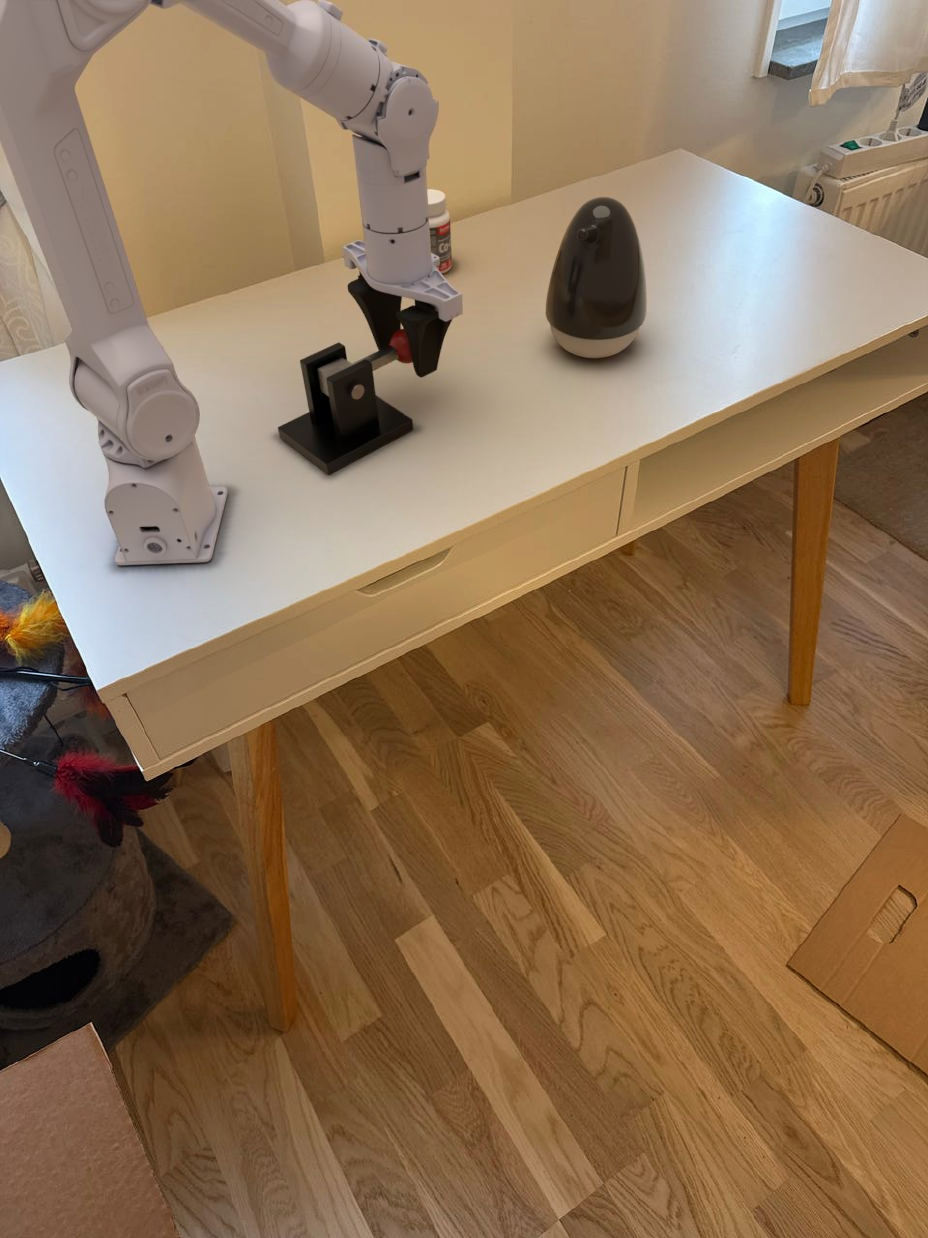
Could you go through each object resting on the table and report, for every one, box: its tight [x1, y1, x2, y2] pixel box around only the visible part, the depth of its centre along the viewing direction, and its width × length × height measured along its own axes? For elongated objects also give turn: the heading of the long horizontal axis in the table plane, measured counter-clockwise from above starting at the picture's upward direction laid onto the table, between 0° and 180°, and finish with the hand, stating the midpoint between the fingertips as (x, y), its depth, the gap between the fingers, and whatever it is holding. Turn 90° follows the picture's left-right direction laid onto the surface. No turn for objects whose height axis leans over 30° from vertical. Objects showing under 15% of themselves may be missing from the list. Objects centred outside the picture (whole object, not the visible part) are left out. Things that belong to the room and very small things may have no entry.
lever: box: [317, 328, 413, 397], centre depth 86 cm, size 11×3×3 cm, turn 132°
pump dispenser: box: [545, 196, 648, 359], centre depth 92 cm, size 10×10×15 cm
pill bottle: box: [427, 188, 453, 275], centre depth 108 cm, size 5×5×8 cm
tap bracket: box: [277, 341, 414, 476], centre depth 86 cm, size 10×8×8 cm
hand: (407, 360), depth 89 cm, fingers open, 5 cm apart
